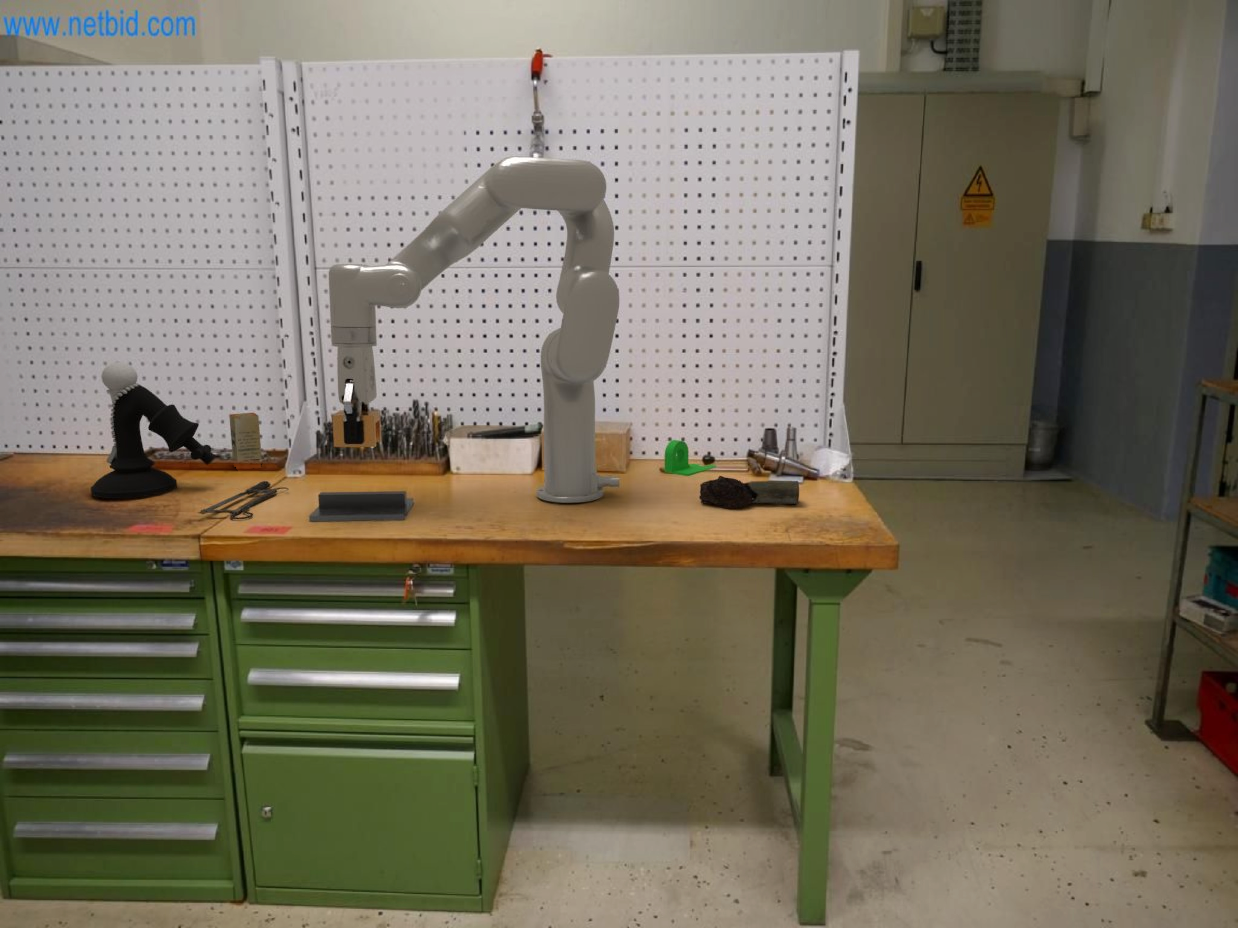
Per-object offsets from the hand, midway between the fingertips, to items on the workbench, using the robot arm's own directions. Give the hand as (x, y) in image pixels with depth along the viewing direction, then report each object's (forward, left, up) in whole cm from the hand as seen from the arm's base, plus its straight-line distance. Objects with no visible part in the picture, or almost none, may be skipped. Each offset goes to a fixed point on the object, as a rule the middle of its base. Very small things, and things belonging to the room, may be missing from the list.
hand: (357, 439), depth 167 cm
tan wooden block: (0, 0, -1) cm, 1 cm away
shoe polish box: (+32, -39, -13) cm, 52 cm away
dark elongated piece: (-75, +2, -16) cm, 77 cm away
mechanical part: (-64, -27, -14) cm, 70 cm away
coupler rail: (0, 0, -13) cm, 13 cm away
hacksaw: (+26, -9, -13) cm, 31 cm away
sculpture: (+44, -21, -13) cm, 50 cm away
